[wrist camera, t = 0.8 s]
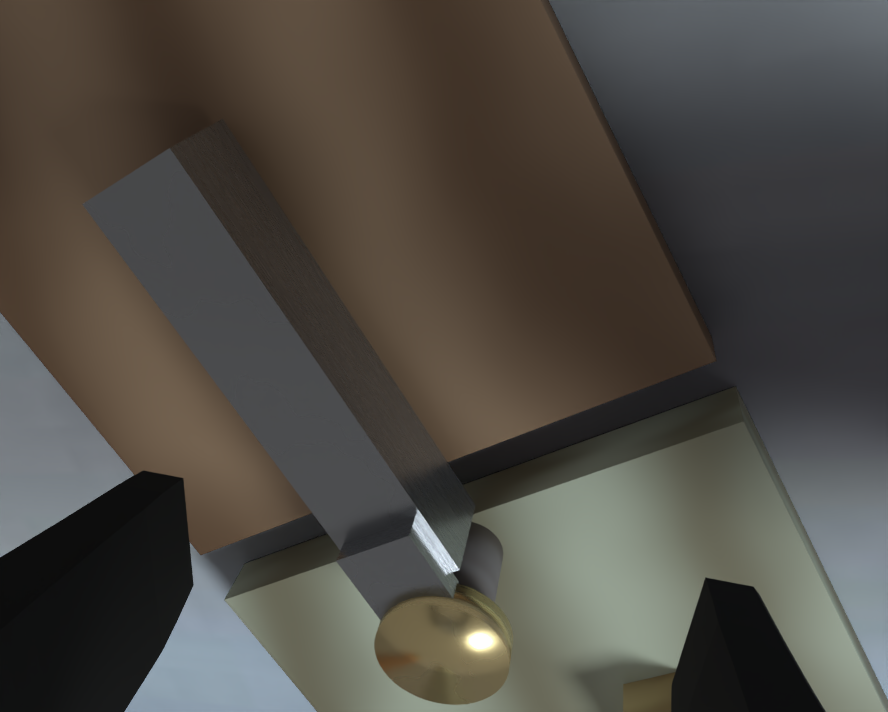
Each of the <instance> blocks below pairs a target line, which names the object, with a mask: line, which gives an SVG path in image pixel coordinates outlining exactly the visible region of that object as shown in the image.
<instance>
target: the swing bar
mask: <svg viewBox="0 0 888 712" xmlns="http://www.w3.org/2000/svg"><path fill="white" fill-rule="evenodd" d="M82 205H83V206H84V207H85V209H86V210H87V211H88V213H89V214H90V216H91V217H92V218H93V220H94V221H95V222H96V224H97V225H98V226H99V228H100V229H101V230H102V232H103V233H104V234H105V236H106V237H107V238H108V240H109V241H110V242H111V244H112V245H113V246H114V248H115V249H116V250H117V252H118V253H119V254H120V256H121V257H122V258H123V260H124V261H125V262H126V264H127V265H128V266H129V268H130V269H131V271H132V272H133V273H134V275H135V276H136V277H137V279H138V280H139V281H140V283H141V284H142V285H143V287H144V288H145V289H146V291H147V292H148V293H149V295H150V296H151V297H152V299H153V300H154V301H155V303H156V304H157V305H158V307H159V308H160V309H161V311H162V312H163V313H164V315H165V316H166V317H167V319H168V320H169V321H170V323H171V324H172V326H173V327H174V328H175V330H176V331H177V332H178V334H179V335H180V336H181V338H182V339H183V340H184V342H185V343H186V344H187V346H188V347H189V348H190V350H191V351H192V352H193V354H194V355H195V356H196V358H197V359H198V360H199V362H200V363H201V364H202V366H203V367H204V368H205V370H206V371H207V372H208V374H209V375H210V376H211V378H212V379H213V381H214V382H215V383H216V385H217V386H218V387H219V389H220V390H221V391H222V393H223V394H224V395H225V397H226V398H227V399H228V401H229V402H230V403H231V405H232V406H233V407H234V409H235V410H236V411H237V413H238V414H239V415H240V417H241V418H242V419H243V421H244V422H245V423H246V425H247V426H248V427H249V429H250V430H251V431H252V433H253V434H254V436H255V437H256V438H257V440H258V441H259V442H260V444H261V445H262V446H263V448H264V449H265V450H266V452H267V453H268V454H269V456H270V457H271V458H272V460H273V461H274V462H275V464H276V465H277V466H278V468H279V469H280V470H281V472H282V473H283V474H284V476H285V477H286V478H287V480H288V481H289V482H290V484H291V485H292V486H293V488H294V489H295V491H296V492H297V493H298V495H299V496H300V497H301V499H302V500H303V501H304V503H305V504H306V505H307V507H308V508H309V509H310V511H311V512H312V513H313V515H314V516H315V517H316V519H317V520H318V521H319V523H320V524H321V525H322V527H323V528H324V529H325V531H326V532H327V533H328V535H329V536H330V537H331V539H332V540H333V541H334V543H335V544H336V546H337V547H338V548H339V550H340V553H339V555H338V557H337V560H336V562H337V563H338V564H339V566H340V567H341V568H342V570H343V571H344V572H345V574H346V575H347V576H348V578H349V579H350V580H351V582H352V583H353V584H354V586H355V587H356V588H357V590H358V591H359V592H360V594H361V595H362V596H363V598H364V599H365V600H366V602H367V603H368V604H369V606H370V607H371V608H372V610H373V611H374V612H375V614H376V615H377V616H378V618H379V619H380V620H381V621H380V624H379V627H378V630H377V633H376V636H375V641H374V649H375V655H376V658H377V661H378V663H379V665H380V667H381V668H382V669H383V671H384V672H385V674H386V675H387V676H388V677H389V678H390V679H391V680H392V681H393V682H394V683H395V684H397V685H398V686H399V687H401V688H402V689H404V690H405V691H407V692H409V693H411V694H413V695H415V696H417V697H419V698H422V699H424V700H428V701H431V702H435V703H440V704H449V705H462V704H470V703H475V702H478V701H482V700H484V699H486V698H488V697H490V696H492V695H493V694H495V693H496V692H497V691H498V690H499V689H500V688H501V687H502V686H503V685H504V683H505V681H506V679H507V676H508V673H509V667H510V660H511V654H512V647H513V631H512V627H511V624H510V622H509V620H508V618H507V616H506V615H505V613H504V612H503V611H502V609H501V608H500V607H499V606H498V605H497V604H496V603H495V602H494V601H492V600H491V599H490V598H489V597H487V596H485V595H484V594H482V593H481V592H479V591H477V590H475V589H473V588H470V587H468V586H465V585H462V584H458V583H459V581H458V580H457V578H456V577H455V575H454V574H453V573H452V572H455V571H458V570H460V567H461V563H462V559H463V555H464V551H465V547H466V543H467V538H468V534H469V530H470V526H471V522H472V518H473V514H474V510H475V506H476V505H475V503H474V502H473V500H472V498H471V497H470V495H469V494H468V492H467V491H466V489H465V488H464V486H463V485H462V483H461V482H460V480H459V479H458V477H457V476H456V474H455V473H454V471H453V469H452V468H451V466H450V465H449V463H448V462H447V460H446V459H445V457H444V456H443V454H442V453H441V451H440V450H439V448H438V447H437V445H436V444H435V442H434V440H433V439H432V437H431V436H430V434H429V433H428V431H427V430H426V428H425V427H424V425H423V424H422V422H421V421H420V419H419V418H418V416H417V415H416V413H415V411H414V410H413V408H412V407H411V405H410V404H409V402H408V401H407V399H406V398H405V396H404V395H403V393H402V392H401V390H400V389H399V387H398V385H397V384H396V382H395V381H394V379H393V378H392V376H391V375H390V373H389V372H388V370H387V369H386V367H385V366H384V364H383V363H382V361H381V360H380V358H379V356H378V355H377V353H376V352H375V350H374V349H373V347H372V346H371V344H370V343H369V341H368V340H367V338H366V337H365V335H364V334H363V332H362V331H361V329H360V327H359V326H358V324H357V323H356V321H355V320H354V318H353V317H352V315H351V314H350V312H349V311H348V309H347V308H346V306H345V305H344V303H343V301H342V300H341V298H340V297H339V295H338V294H337V292H336V291H335V289H334V288H333V286H332V285H331V283H330V282H329V280H328V279H327V277H326V276H325V274H324V272H323V271H322V269H321V268H320V266H319V265H318V263H317V262H316V260H315V259H314V257H313V256H312V254H311V253H310V251H309V250H308V248H307V247H306V245H305V243H304V242H303V240H302V239H301V237H300V236H299V234H298V233H297V231H296V230H295V228H294V227H293V225H292V224H291V222H290V221H289V219H288V217H287V216H286V214H285V213H284V211H283V210H282V208H281V207H280V205H279V204H278V202H277V201H276V199H275V198H274V196H273V195H272V193H271V192H270V190H269V188H268V187H267V185H266V184H265V182H264V181H263V179H262V178H261V176H260V175H259V173H258V172H257V170H256V169H255V167H254V166H253V164H252V163H251V161H250V159H249V158H248V156H247V155H246V153H245V152H244V150H243V149H242V147H241V146H240V144H239V143H238V141H237V140H236V138H235V137H234V135H233V133H232V132H231V130H230V129H229V127H228V126H227V124H226V123H225V121H224V120H223V119H221V120H220V121H218V122H216V123H214V124H212V125H210V126H209V127H207V128H205V129H203V130H201V131H200V132H198V133H196V134H194V135H192V136H191V137H189V138H187V139H185V140H183V141H181V142H180V143H178V144H176V145H174V146H172V147H171V148H169V149H167V150H166V151H164V152H163V153H161V154H160V155H158V156H156V157H155V158H153V159H152V160H150V161H149V162H147V163H146V164H144V165H142V166H141V167H139V168H138V169H136V170H135V171H133V172H132V173H130V174H128V175H127V176H125V177H124V178H122V179H121V180H119V181H118V182H116V183H114V184H113V185H111V186H110V187H108V188H107V189H105V190H104V191H102V192H100V193H99V194H97V195H96V196H94V197H93V198H91V199H90V200H88V201H86V202H85V203H83V204H82Z"/></svg>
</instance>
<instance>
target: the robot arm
mask: <svg viewBox="0 0 888 712" xmlns="http://www.w3.org/2000/svg"><path fill="white" fill-rule="evenodd" d="M192 587H193V576H192V565H191V554H190V543H189V533H188V522H187V511H186V501H185V490H184V479H183V478H181V477H176V476H170V475H165V474H160V473H155V472H149V471H144V470H143V471H141V472H139V473H138V474H136V475H134V476H132V477H131V478H129V479H127V480H126V481H124V482H122V483H121V484H119V485H117V486H116V487H114V488H113V489H111V490H109V491H108V492H106V493H105V494H103V495H101V496H100V497H98V498H96V499H95V500H93V501H92V502H90V503H89V504H87V505H85V506H84V507H82V508H81V509H79V510H77V511H76V512H74V513H73V514H71V515H69V516H68V517H66V518H65V519H63V520H61V521H60V522H58V523H56V524H55V525H53V526H51V527H50V528H48V529H47V530H45V531H43V532H42V533H40V534H38V535H37V536H35V537H33V538H32V539H30V540H28V541H27V542H25V543H24V544H22V545H20V546H19V547H17V548H15V549H14V550H12V551H10V552H9V553H7V554H5V555H4V556H2V557H0V712H124V711H125V710H126V708H127V707H128V705H129V703H130V702H131V700H132V699H133V697H134V695H135V694H136V692H137V691H138V689H139V688H140V686H141V684H142V683H143V681H144V680H145V678H146V676H147V675H148V673H149V672H150V670H151V668H152V667H153V665H154V664H155V662H156V660H157V659H158V657H159V655H160V654H161V652H162V651H163V649H164V647H165V645H166V643H167V640H168V638H169V636H170V634H171V632H172V630H173V628H174V626H175V624H176V622H177V620H178V618H179V616H180V614H181V611H182V609H183V607H184V605H185V603H186V600H187V598H188V596H189V594H190V592H191V589H192ZM671 712H826V711H825V709H824V708H823V706H822V705H821V703H820V701H819V700H818V698H817V696H816V695H815V693H814V691H813V690H812V688H811V686H810V684H809V683H808V681H807V679H806V678H805V676H804V674H803V672H802V671H801V669H800V667H799V665H798V664H797V662H796V660H795V658H794V657H793V655H792V653H791V651H790V650H789V648H788V646H787V644H786V642H785V641H784V639H783V637H782V635H781V633H780V632H779V630H778V628H777V626H776V624H775V622H774V620H773V619H772V617H771V615H770V613H769V611H768V609H767V607H766V606H765V604H764V602H763V600H762V598H761V596H760V595H759V593H758V592H757V590H756V589H755V588H754V587H753V586H748V585H743V584H737V583H732V582H727V581H722V580H716V579H711V578H706V577H705V580H704V583H703V587H702V590H701V593H700V596H699V599H698V602H697V606H696V609H695V612H694V615H693V618H692V621H691V625H690V628H689V631H688V634H687V637H686V640H685V643H684V647H683V650H682V653H681V656H680V659H679V662H678V666H677V669H676V672H675V675H674V678H673V681H672V688H671Z"/></svg>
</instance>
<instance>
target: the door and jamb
mask: <svg viewBox="0 0 888 712" xmlns="http://www.w3.org/2000/svg"><path fill="white" fill-rule="evenodd" d="M221 119H223V120H224V121H225V123H226V124H227V126H228V127H229V129H230V130H231V132H232V133H233V135H234V137H235V138H236V140H237V141H238V143H239V144H240V146H241V147H242V149H243V150H244V152H245V153H246V155H247V156H248V158H249V159H250V161H251V163H252V164H253V166H254V167H255V169H256V170H257V172H258V173H259V175H260V176H261V178H262V179H263V181H264V182H265V184H266V185H267V187H268V188H269V190H270V192H271V193H272V195H273V196H274V198H275V199H276V201H277V202H278V204H279V205H280V207H281V208H282V210H283V211H284V213H285V214H286V216H287V217H288V219H289V221H290V222H291V224H292V225H293V227H294V228H295V230H296V231H297V233H298V234H299V236H300V237H301V239H302V240H303V242H304V243H305V245H306V247H307V248H308V250H309V251H310V253H311V254H312V256H313V257H314V259H315V260H316V262H317V263H318V265H319V266H320V268H321V269H322V271H323V272H324V274H325V276H326V277H327V279H328V280H329V282H330V283H331V285H332V286H333V288H334V289H335V291H336V292H337V294H338V295H339V297H340V298H341V300H342V301H343V303H344V305H345V306H346V308H347V309H348V311H349V312H350V314H351V315H352V317H353V318H354V320H355V321H356V323H357V324H358V326H359V327H360V329H361V331H362V332H363V334H364V335H365V337H366V338H367V340H368V341H369V343H370V344H371V346H372V347H373V349H374V350H375V352H376V353H377V355H378V356H379V358H380V360H381V361H382V363H383V364H384V366H385V367H386V369H387V370H388V372H389V373H390V375H391V376H392V378H393V379H394V381H395V382H396V384H397V385H398V387H399V389H400V390H401V392H402V393H403V395H404V396H405V398H406V399H407V401H408V402H409V404H410V405H411V407H412V408H413V410H414V411H415V413H416V415H417V416H418V418H419V419H420V421H421V422H422V424H423V425H424V427H425V428H426V430H427V431H428V433H429V434H430V436H431V437H432V439H433V440H434V442H435V444H436V445H437V447H438V448H439V450H440V451H441V453H442V454H443V456H444V457H445V459H446V460H447V462H450V461H452V460H455V459H457V458H460V457H463V456H465V455H468V454H471V453H473V452H476V451H479V450H481V449H484V448H487V447H489V446H492V445H495V444H497V443H500V442H503V441H505V440H508V439H511V438H513V437H516V436H519V435H521V434H524V433H527V432H529V431H532V430H535V429H537V428H540V427H542V426H545V425H548V424H550V423H553V422H556V421H558V420H561V419H564V418H566V417H569V416H572V415H574V414H577V413H580V412H582V411H585V410H588V409H590V408H593V407H596V406H598V405H601V404H604V403H606V402H609V401H612V400H614V399H617V398H619V397H622V396H625V395H627V394H630V393H633V392H635V391H638V390H641V389H643V388H646V387H649V386H651V385H654V384H657V383H659V382H662V381H665V380H667V379H670V378H673V377H675V376H678V375H681V374H683V373H686V372H689V371H691V370H694V369H697V368H699V367H702V366H704V365H707V364H710V363H712V362H715V361H716V356H715V351H714V346H713V341H712V337H711V335H710V333H709V330H708V328H707V326H706V324H705V322H704V320H703V318H702V316H701V314H700V312H699V310H698V308H697V306H696V304H695V302H694V300H693V297H692V295H691V293H690V291H689V289H688V287H687V285H686V283H685V281H684V279H683V277H682V275H681V273H680V271H679V269H678V267H677V264H676V262H675V260H674V258H673V256H672V254H671V252H670V250H669V248H668V246H667V244H666V242H665V240H664V238H663V236H662V234H661V231H660V229H659V227H658V225H657V223H656V221H655V219H654V217H653V215H652V213H651V211H650V209H649V207H648V205H647V203H646V201H645V199H644V196H643V194H642V192H641V190H640V188H639V186H638V184H637V182H636V180H635V178H634V176H633V174H632V172H631V170H630V168H629V166H628V163H627V161H626V159H625V157H624V155H623V153H622V151H621V149H620V147H619V145H618V143H617V141H616V139H615V137H614V135H613V133H612V130H611V128H610V126H609V124H608V122H607V120H606V118H605V116H604V114H603V112H602V110H601V108H600V106H599V104H598V102H597V100H596V97H595V95H594V93H593V91H592V89H591V87H590V85H589V83H588V81H587V79H586V77H585V75H584V73H583V71H582V69H581V67H580V64H579V62H578V60H577V58H576V56H575V54H574V52H573V50H572V48H571V46H570V44H569V42H568V40H567V38H566V36H565V34H564V32H563V29H562V27H561V25H560V23H559V21H558V19H557V17H556V15H555V13H554V11H553V9H552V7H551V5H550V3H549V1H548V0H0V312H1V314H2V315H3V316H4V317H5V318H6V320H7V321H8V322H9V323H10V324H11V326H12V327H13V328H14V329H15V330H16V332H17V333H18V334H19V335H20V337H21V338H22V339H23V340H24V341H25V343H26V344H27V345H28V346H29V347H30V349H31V350H32V351H33V352H34V354H35V355H36V356H37V357H38V358H39V360H40V361H41V362H42V363H43V364H44V366H45V367H46V368H47V369H48V371H49V372H50V373H51V374H52V375H53V377H54V378H55V379H56V380H57V381H58V383H59V384H60V385H61V386H62V388H63V389H64V390H65V391H66V392H67V394H68V395H69V396H70V397H71V398H72V400H73V401H74V402H75V403H76V405H77V406H78V407H79V408H80V409H81V411H82V412H83V413H84V414H85V415H86V417H87V418H88V419H89V420H90V422H91V423H92V424H93V425H94V426H95V428H96V429H97V430H98V431H99V432H100V434H101V435H102V436H103V437H104V438H105V440H106V441H107V442H108V443H109V445H110V446H111V447H112V448H113V449H114V451H115V452H116V453H117V454H118V455H119V457H120V458H121V459H122V460H123V462H124V463H125V464H126V465H127V466H128V468H129V469H130V470H131V471H132V472H133V474H134V475H136V474H138V473H139V472H141V471H143V470H144V471H149V472H155V473H160V474H165V475H170V476H176V477H181V478H183V479H184V490H185V501H186V511H187V522H188V533H189V542H190V543H191V544H192V545H193V546H194V548H195V549H196V550H197V551H198V553H199V554H200V555H203V554H205V553H208V552H211V551H213V550H216V549H218V548H221V547H224V546H226V545H229V544H232V543H234V542H237V541H240V540H242V539H245V538H248V537H250V536H253V535H256V534H258V533H261V532H264V531H266V530H269V529H272V528H274V527H277V526H280V525H282V524H285V523H288V522H290V521H293V520H295V519H298V518H301V517H303V516H306V515H309V514H311V513H312V512H311V511H310V509H309V508H308V507H307V505H306V504H305V503H304V501H303V500H302V499H301V497H300V496H299V495H298V493H297V492H296V491H295V489H294V488H293V486H292V485H291V484H290V482H289V481H288V480H287V478H286V477H285V476H284V474H283V473H282V472H281V470H280V469H279V468H278V466H277V465H276V464H275V462H274V461H273V460H272V458H271V457H270V456H269V454H268V453H267V452H266V450H265V449H264V448H263V446H262V445H261V444H260V442H259V441H258V440H257V438H256V437H255V436H254V434H253V433H252V431H251V430H250V429H249V427H248V426H247V425H246V423H245V422H244V421H243V419H242V418H241V417H240V415H239V414H238V413H237V411H236V410H235V409H234V407H233V406H232V405H231V403H230V402H229V401H228V399H227V398H226V397H225V395H224V394H223V393H222V391H221V390H220V389H219V387H218V386H217V385H216V383H215V382H214V381H213V379H212V378H211V376H210V375H209V374H208V372H207V371H206V370H205V368H204V367H203V366H202V364H201V363H200V362H199V360H198V359H197V358H196V356H195V355H194V354H193V352H192V351H191V350H190V348H189V347H188V346H187V344H186V343H185V342H184V340H183V339H182V338H181V336H180V335H179V334H178V332H177V331H176V330H175V328H174V327H173V326H172V324H171V323H170V321H169V320H168V319H167V317H166V316H165V315H164V313H163V312H162V311H161V309H160V308H159V307H158V305H157V304H156V303H155V301H154V300H153V299H152V297H151V296H150V295H149V293H148V292H147V291H146V289H145V288H144V287H143V285H142V284H141V283H140V281H139V280H138V279H137V277H136V276H135V275H134V273H133V272H132V271H131V269H130V268H129V266H128V265H127V264H126V262H125V261H124V260H123V258H122V257H121V256H120V254H119V253H118V252H117V250H116V249H115V248H114V246H113V245H112V244H111V242H110V241H109V240H108V238H107V237H106V236H105V234H104V233H103V232H102V230H101V229H100V228H99V226H98V225H97V224H96V222H95V221H94V220H93V218H92V217H91V216H90V214H89V213H88V211H87V210H86V209H85V207H84V206H83V205H82V204H83V203H85V202H86V201H88V200H90V199H91V198H93V197H94V196H96V195H97V194H99V193H100V192H102V191H104V190H105V189H107V188H108V187H110V186H111V185H113V184H114V183H116V182H118V181H119V180H121V179H122V178H124V177H125V176H127V175H128V174H130V173H132V172H133V171H135V170H136V169H138V168H139V167H141V166H142V165H144V164H146V163H147V162H149V161H150V160H152V159H153V158H155V157H156V156H158V155H160V154H161V153H163V152H164V151H166V150H167V149H169V148H171V147H172V146H174V145H176V144H178V143H180V142H181V141H183V140H185V139H187V138H189V137H191V136H192V135H194V134H196V133H198V132H200V131H201V130H203V129H205V128H207V127H209V126H210V125H212V124H214V123H216V122H218V121H220V120H221ZM463 486H464V488H465V489H466V491H467V492H468V494H469V495H470V497H471V498H472V500H473V502H474V503H475V505H476V506H475V510H474V514H473V518H472V522H471V526H470V530H469V534H468V538H467V543H466V547H465V551H464V555H463V559H462V563H461V567H460V570H458V571H455V572H452V573H453V574H454V575H455V577H456V578H457V580H458V581H459V583H458V584H462V585H465V586H468V587H470V588H473V589H475V590H477V591H479V592H481V593H482V594H484V595H485V596H487V597H489V598H490V599H491V600H492V601H494V602H495V603H496V604H497V605H498V606H499V607H500V608H501V609H502V611H503V612H504V613H505V615H506V616H507V618H508V620H509V622H510V624H511V627H512V631H513V647H512V654H511V660H510V667H509V673H508V676H507V679H506V681H505V683H504V685H503V686H502V687H501V688H500V689H499V690H498V691H497V692H496V693H495V694H493V695H492V696H490V697H488V698H486V699H484V700H482V701H478V702H475V703H470V704H462V705H449V704H440V703H435V702H431V701H428V700H424V699H422V698H419V697H417V696H415V695H413V694H411V693H409V692H407V691H405V690H404V689H402V688H401V687H399V686H398V685H397V684H395V683H394V682H393V681H392V680H391V679H390V678H389V677H388V676H387V675H386V674H385V672H384V671H383V669H382V668H381V667H380V665H379V663H378V661H377V658H376V655H375V649H374V641H375V636H376V633H377V630H378V627H379V624H380V621H381V620H380V619H379V618H378V616H377V615H376V614H375V612H374V611H373V610H372V608H371V607H370V606H369V604H368V603H367V602H366V600H365V599H364V598H363V596H362V595H361V594H360V592H359V591H358V590H357V588H356V587H355V586H354V584H353V583H352V582H351V580H350V579H349V578H348V576H347V575H346V574H345V572H344V571H343V570H342V568H341V567H340V566H339V564H338V563H337V562H336V560H337V557H338V555H339V553H340V550H339V548H338V547H337V546H336V544H335V543H334V541H333V540H332V539H331V537H330V536H329V535H328V534H326V535H323V536H320V537H317V538H315V539H312V540H309V541H306V542H303V543H301V544H298V545H295V546H292V547H290V548H287V549H284V550H281V551H279V552H276V553H273V554H270V555H267V556H265V557H262V558H259V559H256V560H254V561H251V562H248V563H245V564H244V566H243V568H242V570H241V571H240V573H239V575H238V577H237V578H236V580H235V582H234V584H233V586H232V587H231V589H230V591H229V593H228V594H227V596H226V598H225V601H226V602H227V604H228V605H229V606H230V607H231V608H232V610H233V611H234V612H235V613H236V614H237V616H238V617H239V618H240V619H241V620H242V622H243V623H244V624H245V625H246V626H247V628H248V629H249V630H250V631H251V632H252V634H253V635H254V636H255V637H256V639H257V640H258V641H259V642H260V643H261V645H262V646H263V647H264V648H265V649H266V651H267V652H268V653H269V654H270V655H271V657H272V658H273V659H274V660H275V661H276V663H277V664H278V665H279V666H280V667H281V669H282V670H283V671H284V672H285V673H286V675H287V676H288V677H289V678H290V679H291V681H292V682H293V683H294V684H295V685H296V687H297V688H298V689H299V690H300V691H301V693H302V694H303V695H304V696H305V697H306V699H307V700H308V701H309V702H310V703H311V705H312V706H313V707H314V708H315V709H316V711H317V712H671V688H672V681H673V678H674V675H675V672H676V669H677V666H678V662H679V659H680V656H681V653H682V650H683V647H684V643H685V640H686V637H687V634H688V631H689V628H690V625H691V621H692V618H693V615H694V612H695V609H696V606H697V602H698V599H699V596H700V593H701V590H702V587H703V583H704V580H705V577H706V578H711V579H716V580H722V581H727V582H732V583H737V584H743V585H748V586H753V587H754V588H755V589H756V590H757V592H758V593H759V595H760V596H761V598H762V600H763V602H764V604H765V606H766V607H767V609H768V611H769V613H770V615H771V617H772V619H773V620H774V622H775V624H776V626H777V628H778V630H779V632H780V633H781V635H782V637H783V639H784V641H785V642H786V644H787V646H788V648H789V650H790V651H791V653H792V655H793V657H794V658H795V660H796V662H797V664H798V665H799V667H800V669H801V671H802V672H803V674H804V676H805V678H806V679H807V681H808V683H809V684H810V686H811V688H812V690H813V691H814V693H815V695H816V696H817V698H818V700H819V701H820V703H821V705H822V706H823V708H824V709H825V711H826V712H888V700H887V697H886V695H885V693H884V691H883V689H882V687H881V685H880V683H879V681H878V679H877V677H876V675H875V673H874V671H873V669H872V667H871V664H870V662H869V660H868V658H867V656H866V654H865V652H864V650H863V648H862V646H861V644H860V642H859V640H858V638H857V636H856V634H855V631H854V629H853V627H852V625H851V623H850V621H849V619H848V617H847V615H846V613H845V611H844V609H843V607H842V605H841V603H840V601H839V598H838V596H837V594H836V592H835V590H834V588H833V586H832V584H831V582H830V580H829V578H828V576H827V574H826V572H825V570H824V568H823V565H822V563H821V561H820V559H819V557H818V555H817V553H816V551H815V549H814V547H813V545H812V543H811V541H810V539H809V537H808V535H807V533H806V530H805V528H804V526H803V524H802V522H801V520H800V518H799V516H798V514H797V512H796V510H795V508H794V506H793V504H792V502H791V500H790V497H789V495H788V493H787V491H786V489H785V487H784V485H783V483H782V481H781V479H780V477H779V475H778V473H777V471H776V469H775V467H774V464H773V462H772V460H771V458H770V456H769V454H768V452H767V450H766V448H765V446H764V444H763V442H762V440H761V438H760V436H759V434H758V431H757V429H756V427H755V425H754V423H753V421H752V419H751V417H750V415H749V413H748V411H747V409H746V407H745V405H744V403H743V401H742V398H741V396H740V394H739V392H738V390H737V388H736V386H735V387H732V388H730V389H727V390H724V391H721V392H719V393H716V394H713V395H710V396H708V397H705V398H702V399H699V400H696V401H694V402H691V403H688V404H685V405H683V406H680V407H677V408H674V409H672V410H669V411H666V412H663V413H660V414H658V415H655V416H652V417H649V418H647V419H644V420H641V421H638V422H636V423H633V424H630V425H627V426H625V427H622V428H619V429H616V430H613V431H611V432H608V433H605V434H602V435H600V436H597V437H594V438H591V439H589V440H586V441H583V442H580V443H577V444H575V445H572V446H569V447H566V448H564V449H561V450H558V451H555V452H553V453H550V454H547V455H544V456H541V457H539V458H536V459H533V460H530V461H528V462H525V463H522V464H519V465H517V466H514V467H511V468H508V469H505V470H503V471H500V472H497V473H494V474H492V475H489V476H486V477H483V478H481V479H478V480H475V481H472V482H470V483H467V484H464V485H463Z"/></svg>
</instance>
